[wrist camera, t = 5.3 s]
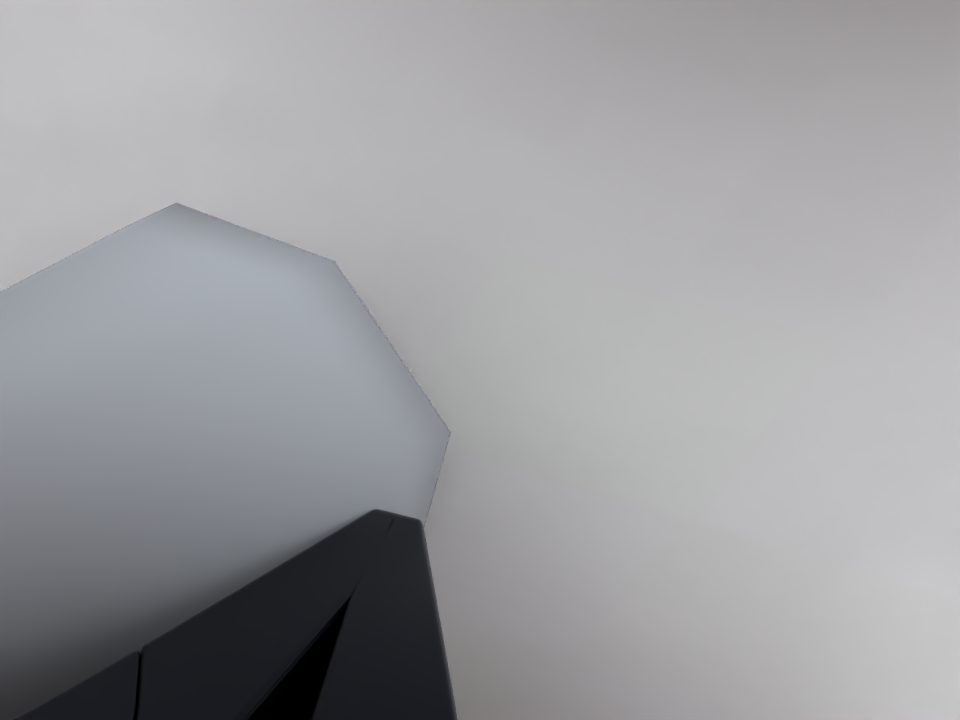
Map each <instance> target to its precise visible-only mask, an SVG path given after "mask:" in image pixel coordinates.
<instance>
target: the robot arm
mask: <svg viewBox="0 0 960 720" xmlns="http://www.w3.org/2000/svg"><path fill="white" fill-rule="evenodd" d="M13 720H458V718H457V713H456V707H455V701H454V696H453V690H452V685H451V679H450V673H449V668H448V662H447V657H446V651H445V645H444V640H443V634H442V628H441V623H440V617H439V612H438V606H437V600H436V595H435V589H434V584H433V578H432V572H431V567H430V561H429V556H428V550H427V544H426V539H425V533H424V527H423V523H422V521H421V520H419V519H416V518H412V517H408V516H404V515H400V514H396V513H392V512H388V511H384V510H380V509H374V510H371V511H369V512H368V513H366V514H364V515H363V516H361V517H359V518H358V519H356V520H354V521H353V522H351V523H349V524H348V525H346V526H344V527H343V528H341V529H339V530H337V531H336V532H334V533H332V534H331V535H329V536H327V537H326V538H324V539H322V540H321V541H319V542H317V543H316V544H314V545H312V546H311V547H309V548H307V549H305V550H304V551H302V552H300V553H299V554H297V555H295V556H294V557H292V558H290V559H289V560H287V561H285V562H284V563H282V564H280V565H279V566H277V567H275V568H273V569H272V570H270V571H268V572H267V573H265V574H263V575H262V576H260V577H258V578H257V579H255V580H253V581H252V582H250V583H248V584H247V585H245V586H243V587H242V588H240V589H238V590H236V591H235V592H233V593H231V594H230V595H228V596H226V597H225V598H223V599H221V600H220V601H218V602H216V603H215V604H213V605H211V606H210V607H208V608H206V609H204V610H203V611H201V612H199V613H198V614H196V615H194V616H193V617H191V618H189V619H188V620H186V621H184V622H183V623H181V624H179V625H178V626H176V627H174V628H172V629H171V630H169V631H167V632H166V633H164V634H162V635H161V636H159V637H157V638H156V639H154V640H152V641H151V642H149V643H147V644H146V645H144V646H143V647H142V649H141V655H140V652H138V651H133V652H132V653H130V654H128V655H126V656H125V657H123V658H121V659H120V660H118V661H116V662H115V663H113V664H111V665H110V666H108V667H106V668H105V669H103V670H101V671H100V672H98V673H96V674H94V675H93V676H91V677H89V678H87V679H85V680H84V681H82V682H80V683H78V684H77V685H75V686H73V687H71V688H70V689H68V690H66V691H64V692H62V693H61V694H59V695H57V696H55V697H54V698H52V699H50V700H48V701H47V702H45V703H43V704H41V705H40V706H38V707H36V708H34V709H32V710H30V711H28V712H26V713H24V714H23V715H21V716H19V717H17V718H15V719H13Z"/></svg>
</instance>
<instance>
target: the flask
mask: <svg viewBox="0 0 960 720" xmlns="http://www.w3.org/2000/svg"><path fill="white" fill-rule="evenodd" d="M450 433H451V432H450V430H449V429H448V427H447V426H446V424H445V423H444V421H443V420H442V418H441V417H440V416H439V414H438V413H437V411H436V410H435V408H434V407H433V405H432V404H431V402H430V401H429V399H428V398H427V396H426V395H425V394H424V392H423V391H422V389H421V388H420V386H419V385H418V383H417V382H416V380H415V379H414V377H413V376H412V374H411V373H410V372H409V370H408V369H407V367H406V366H405V364H404V363H403V361H402V360H401V358H400V357H399V355H398V354H397V352H396V351H395V349H394V348H393V347H392V345H391V344H390V342H389V341H388V339H387V338H386V336H385V335H384V333H383V332H382V330H381V329H380V327H379V326H378V325H377V323H376V322H375V320H374V319H373V317H372V316H371V314H370V313H369V311H368V310H367V308H366V307H365V305H364V304H363V303H362V301H361V300H360V298H359V297H358V295H357V294H356V292H355V291H354V289H353V288H352V286H351V285H350V283H349V282H348V280H347V279H346V278H345V276H344V275H343V273H342V272H341V270H340V269H339V267H338V266H337V264H336V263H335V261H332V260H330V259H327V258H324V257H321V256H319V255H316V254H313V253H311V252H308V251H305V250H302V249H300V248H297V247H294V246H292V245H289V244H286V243H283V242H281V241H278V240H275V239H273V238H270V237H267V236H265V235H262V234H259V233H256V232H254V231H251V230H248V229H246V228H243V227H240V226H237V225H235V224H232V223H229V222H227V221H224V220H221V219H218V218H216V217H213V216H210V215H208V214H205V213H202V212H200V211H197V210H194V209H191V208H189V207H186V206H183V205H181V204H178V203H175V204H173V205H171V206H168V207H166V208H164V209H162V210H160V211H158V212H156V213H154V214H151V215H149V216H147V217H145V218H143V219H141V220H139V221H137V222H134V223H132V224H130V225H128V226H126V227H124V228H122V229H120V230H118V231H116V232H114V233H113V234H111V235H109V236H107V237H105V238H103V239H101V240H99V241H97V242H95V243H93V244H91V245H89V246H88V247H86V248H84V249H82V250H80V251H78V252H76V253H74V254H72V255H70V256H68V257H66V258H65V259H63V260H61V261H59V262H57V263H55V264H53V265H51V266H49V267H47V268H45V269H43V270H42V271H40V272H38V273H36V274H34V275H32V276H30V277H28V278H26V279H24V280H22V281H20V282H19V283H17V284H15V285H13V286H11V287H9V288H7V289H5V290H3V291H1V292H0V720H13V719H15V718H17V717H19V716H21V715H23V714H24V713H26V712H28V711H30V710H32V709H34V708H36V707H38V706H40V705H41V704H43V703H45V702H47V701H48V700H50V699H52V698H54V697H55V696H57V695H59V694H61V693H62V692H64V691H66V690H68V689H70V688H71V687H73V686H75V685H77V684H78V683H80V682H82V681H84V680H85V679H87V678H89V677H91V676H93V675H94V674H96V673H98V672H100V671H101V670H103V669H105V668H106V667H108V666H110V665H111V664H113V663H115V662H116V661H118V660H120V659H121V658H123V657H125V656H126V655H128V654H130V653H132V652H133V651H138V652H140V655H141V649H142V647H143V646H144V645H146V644H147V643H149V642H151V641H152V640H154V639H156V638H157V637H159V636H161V635H162V634H164V633H166V632H167V631H169V630H171V629H172V628H174V627H176V626H178V625H179V624H181V623H183V622H184V621H186V620H188V619H189V618H191V617H193V616H194V615H196V614H198V613H199V612H201V611H203V610H204V609H206V608H208V607H210V606H211V605H213V604H215V603H216V602H218V601H220V600H221V599H223V598H225V597H226V596H228V595H230V594H231V593H233V592H235V591H236V590H238V589H240V588H242V587H243V586H245V585H247V584H248V583H250V582H252V581H253V580H255V579H257V578H258V577H260V576H262V575H263V574H265V573H267V572H268V571H270V570H272V569H273V568H275V567H277V566H279V565H280V564H282V563H284V562H285V561H287V560H289V559H290V558H292V557H294V556H295V555H297V554H299V553H300V552H302V551H304V550H305V549H307V548H309V547H311V546H312V545H314V544H316V543H317V542H319V541H321V540H322V539H324V538H326V537H327V536H329V535H331V534H332V533H334V532H336V531H337V530H339V529H341V528H343V527H344V526H346V525H348V524H349V523H351V522H353V521H354V520H356V519H358V518H359V517H361V516H363V515H364V514H366V513H368V512H369V511H371V510H374V509H380V510H384V511H388V512H392V513H396V514H400V515H404V516H408V517H412V518H416V519H419V520H421V521H422V523H423V527H424V525H425V522H426V518H427V515H428V511H429V507H430V504H431V500H432V497H433V493H434V490H435V486H436V483H437V479H438V476H439V472H440V468H441V465H442V461H443V458H444V454H445V451H446V447H447V444H448V440H449V436H450Z"/></svg>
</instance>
